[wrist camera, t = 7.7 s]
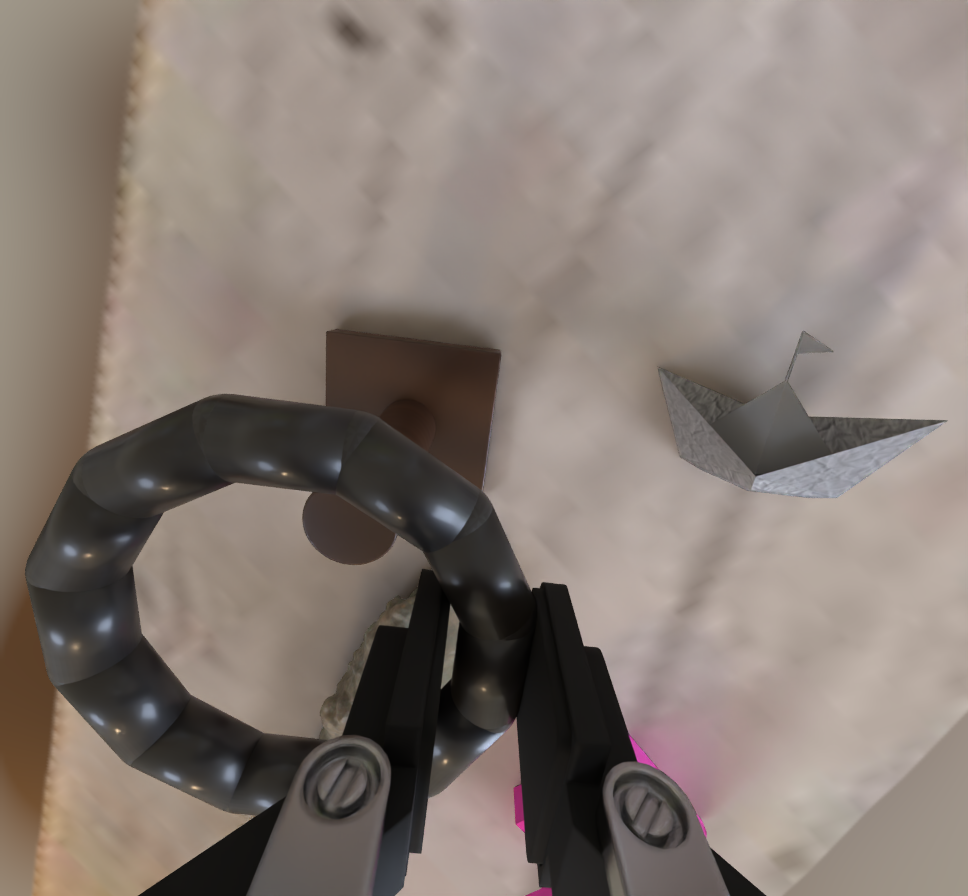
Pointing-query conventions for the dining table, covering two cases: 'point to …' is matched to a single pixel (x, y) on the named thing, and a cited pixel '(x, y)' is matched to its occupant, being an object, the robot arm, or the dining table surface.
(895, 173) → the dining table surface
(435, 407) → the peg stand
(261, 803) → the hoop
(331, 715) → the long grey stone
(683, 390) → the paper boat
